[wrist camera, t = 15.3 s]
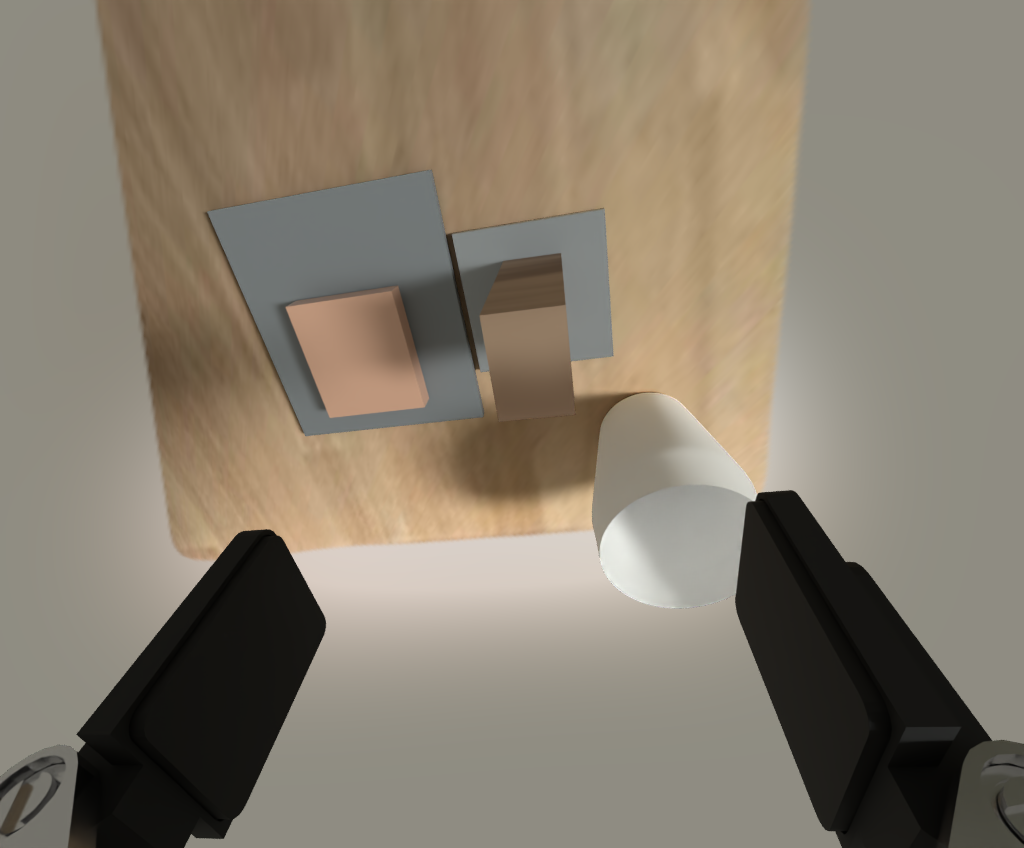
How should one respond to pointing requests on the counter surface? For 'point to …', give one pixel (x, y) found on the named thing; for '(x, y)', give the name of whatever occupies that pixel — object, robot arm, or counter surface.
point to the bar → (529, 340)
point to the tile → (360, 351)
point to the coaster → (580, 262)
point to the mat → (355, 286)
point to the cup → (667, 505)
